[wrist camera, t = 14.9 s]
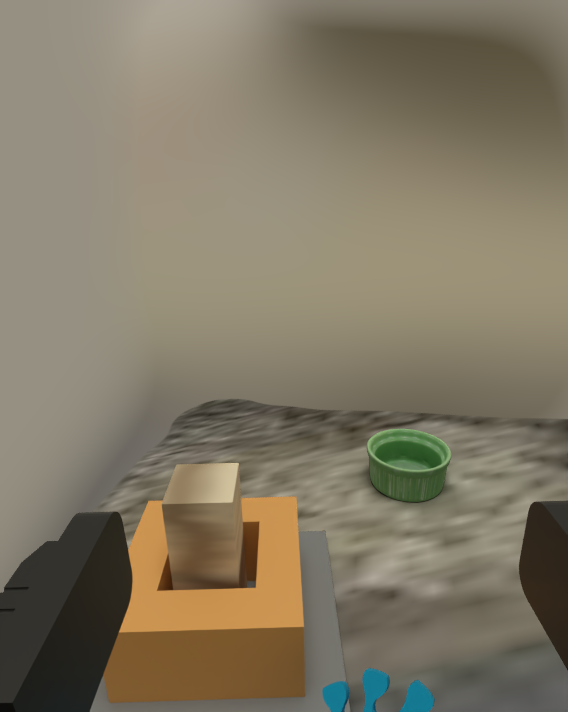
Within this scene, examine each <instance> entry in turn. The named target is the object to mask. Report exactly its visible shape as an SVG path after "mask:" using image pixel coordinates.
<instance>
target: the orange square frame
mask: <svg viewBox="0 0 568 712" xmlns="http://www.w3.org/2000/svg"><path fill="white" fill-rule="evenodd" d="M162 502H163V501H148V504H147V506H146V509H145V511H144V514H143V516H142V518H141V521H140V523H139V526H138V528H137V530H136V533H135V535H134V538H133V540H132V543H131V545H130V547H129V550H128V553H129V558H130V563H131V568H132V576H133V583H132V593H131V599H130V603H129V606H128V609H127V612H126V614H125V617H124V620H123V623H122V625H121V628H120V631H119V633H118V636H117V639H116V642H115V644H114V647H113V650H112V652H111V655H110V658H109V660H108V663H107V666H106V669H105V671H104V674H103V677H102V679H101V682H100V685H99V687H98V690H97V693H96V696H95V698H94V701H93V704H92V706H91V709H90V712H331V711H330V709H329V707H328V706H327V704H326V703H325V701H324V699H323V695H322V691H323V688H324V687H326V686H328V685H330V684H332V683H334V682H338V681H345V682H346V676H345V669H344V662H343V654H342V647H341V640H340V633H339V626H338V618H337V611H336V604H335V597H334V589H333V582H332V575H331V568H330V561H329V553H328V546H327V539H326V532H325V531H307V532H298V517H297V501H296V497H266V498H241V503H242V518H243V532H244V547H245V561H246V576H247V588H234V589H201V590H173V584H172V576H171V569H170V562H169V555H168V548H167V540H166V533H165V526H164V519H163V511H162ZM345 712H350V705H349V699H348V701H347V704H346V706H345Z"/></svg>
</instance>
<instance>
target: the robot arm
mask: <svg viewBox="0 0 568 712" xmlns="http://www.w3.org/2000/svg"><path fill="white" fill-rule="evenodd" d="M519 574H520V580H521V584H522V588H523V591H524V593H525V596H526V598H527V600H528V602H529V603H530V605H531V607H532V609H533V610H534V612H535V614H536V616H537V617H538V619H539V621H540V623H541V624H542V626H543V628H544V630H545V631H546V633H547V635H548V637H549V638H550V640H551V642H552V644H553V645H554V647H555V649H556V651H557V652H558V654H559V656H560V658H561V659H562V661H563V663H564V665H565V666H566V668H567V670H568V501H543V502H534V503H532V505H531V506H530V508H529V512H528V517H527V523H526V528H525V534H524V539H523V545H522V551H521V556H520V562H519ZM132 583H133V576H132V568H131V563H130V558H129V553H128V547H127V542H126V537H125V532H124V527H123V522H122V518H121V516H120V514H119V513H118V512H90V513H89V512H86V513H78V514H76V515H75V516H74V517H73V518H72V520H71V521H70V523H69V525H68V526H67V528H66V530H65V531H64V533H63V534H62V536H61V537H60V539H59V541H47V542H45V543H44V544H43V545H42V546H41V547H39V549H37V550H36V551H35V552H34V553H32V554H31V555H30V556H29V557H28V558H26V559H25V560H24V561H23V562H22V563H21V564H20V566H19V567H18V568H17V570H16V571H15V573H14V574H13V576H12V577H11V579H10V580H9V582H8V583H7V584H6V586H5V587H4V592H3V593H0V712H90V709H91V706H92V704H93V701H94V698H95V696H96V693H97V690H98V687H99V685H100V682H101V679H102V677H103V674H104V671H105V669H106V666H107V663H108V660H109V658H110V655H111V652H112V650H113V647H114V644H115V642H116V639H117V636H118V633H119V631H120V628H121V625H122V623H123V620H124V617H125V614H126V612H127V609H128V606H129V603H130V599H131V593H132Z"/></svg>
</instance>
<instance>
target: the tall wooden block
mask: <svg viewBox="0 0 568 712" xmlns="http://www.w3.org/2000/svg"><path fill="white" fill-rule="evenodd" d="M162 511H163V519H164V526H165V533H166V540H167V548H168V555H169V562H170V569H171V576H172V584H173V590H201V589H234V588H247V576H246V561H245V547H244V532H243V518H242V503H241V489H240V474H239V463H222V464H182V465H176V467H175V470H174V473H173V475H172V478H171V481H170V483H169V486H168V488H167V491H166V494H165V496H164V499H163V502H162Z"/></svg>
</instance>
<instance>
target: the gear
mask: <svg viewBox="0 0 568 712" xmlns="http://www.w3.org/2000/svg"><path fill="white" fill-rule="evenodd" d="M389 683H390V680H389V676H388V675H387V674H385V673H384V672H382V671H379V670H376V669H371V668H368V669H367V670H366V671H365V672H364V675H363V686H364V690H365V708H364V712H376V709H375V702H376V700H377V698H379V697H380V696H382V695H383V694H384V693H385V692H386V691H387V689H388V687H389ZM322 695H323V699H324V701H325V703H326V704H327V706H328V707H329V709H330V711H331V712H345V706H346V704H347V701H348V699H349V687H348V685H347V683H346V682H345V681H338V682H334V683H332V684H330V685H328V686H326V687H324V688H323V691H322ZM434 701H435V699H434V697H433V695H432V693H431V692H430V691H429V690H428V689H427V688H426V687H425V686H424V685H423V684H422V683H421V682H420V681H419V680H416V681H414V682H413V683H412V684H411V685H410V687H409V688H408V691H407V698H406V701H405V704H404V706H403V708H402V709H401V710H400V711H399V712H429V711H430V710H431V709H432V707H433V704H434Z"/></svg>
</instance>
